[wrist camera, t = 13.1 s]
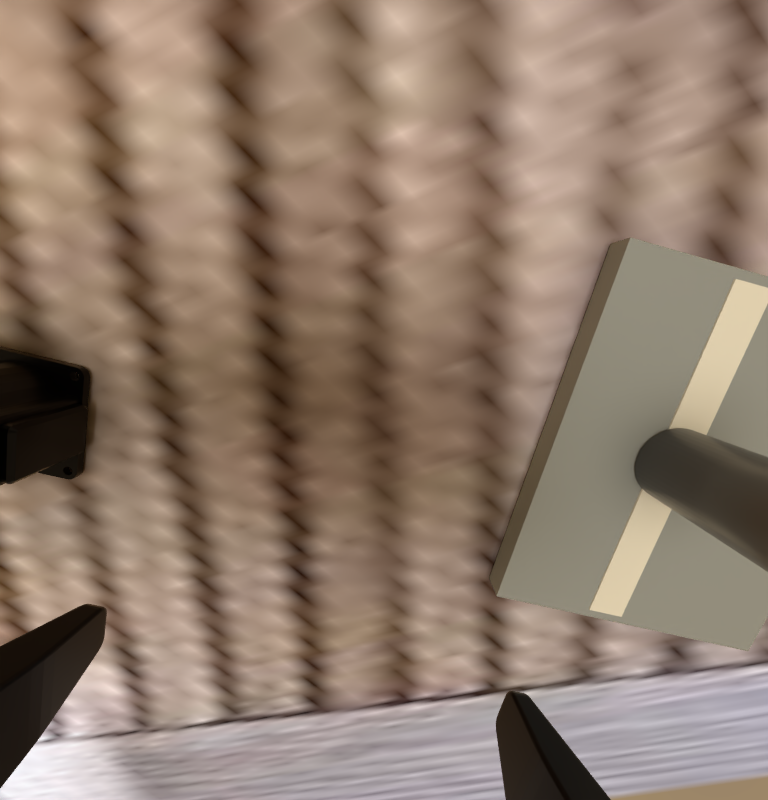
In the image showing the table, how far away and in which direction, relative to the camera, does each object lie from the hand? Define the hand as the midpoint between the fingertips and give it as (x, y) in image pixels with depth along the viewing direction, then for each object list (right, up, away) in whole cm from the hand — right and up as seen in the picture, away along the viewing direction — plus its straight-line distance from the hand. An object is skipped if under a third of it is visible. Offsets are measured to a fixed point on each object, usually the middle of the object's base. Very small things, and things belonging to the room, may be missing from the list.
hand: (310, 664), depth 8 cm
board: (+18, +2, +13) cm, 23 cm away
